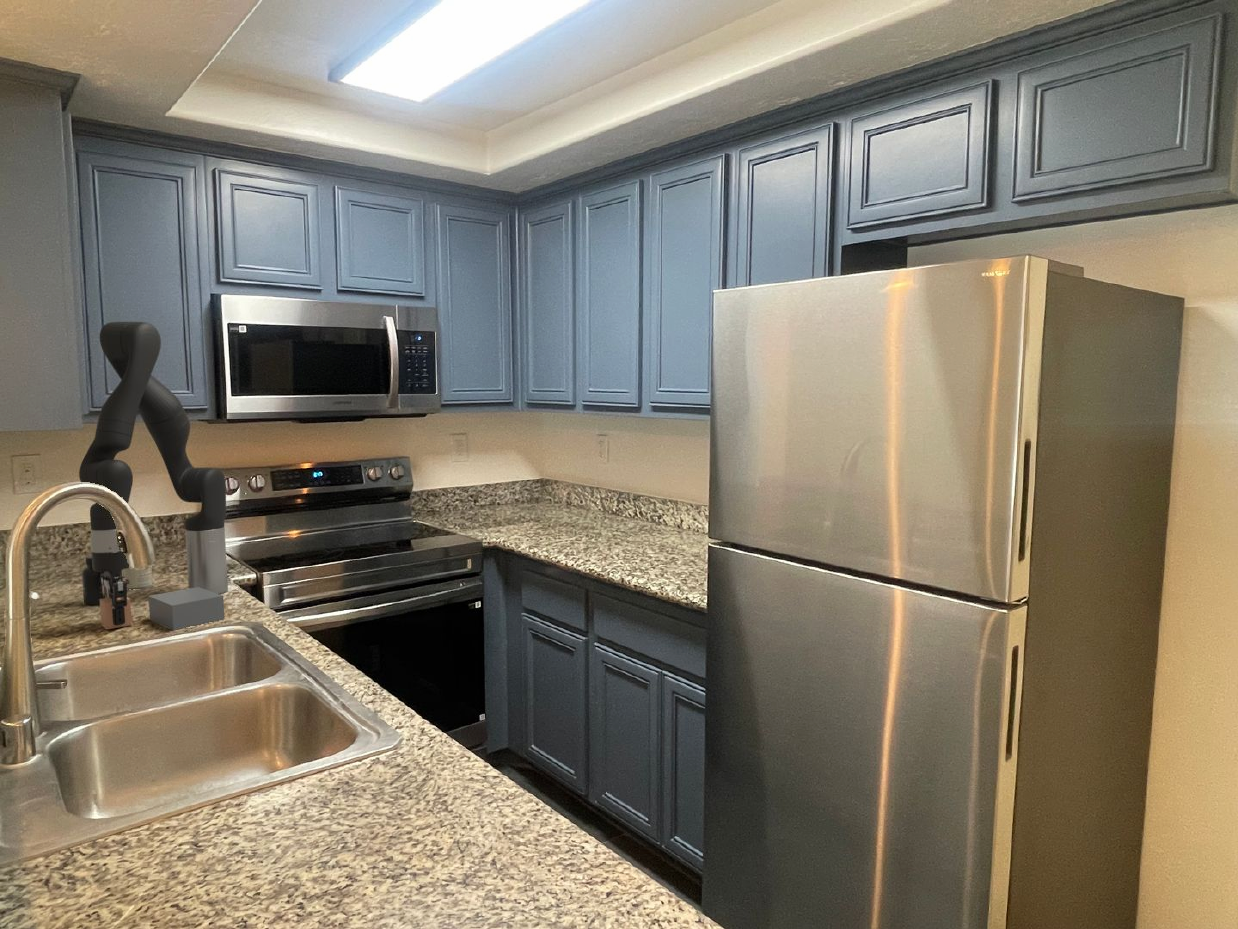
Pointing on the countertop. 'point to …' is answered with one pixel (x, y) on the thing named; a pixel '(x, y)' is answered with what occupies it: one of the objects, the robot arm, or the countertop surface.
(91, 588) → the supplement bottle
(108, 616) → the terracotta block
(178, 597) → the charcoal storage box
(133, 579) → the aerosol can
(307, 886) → the countertop surface
